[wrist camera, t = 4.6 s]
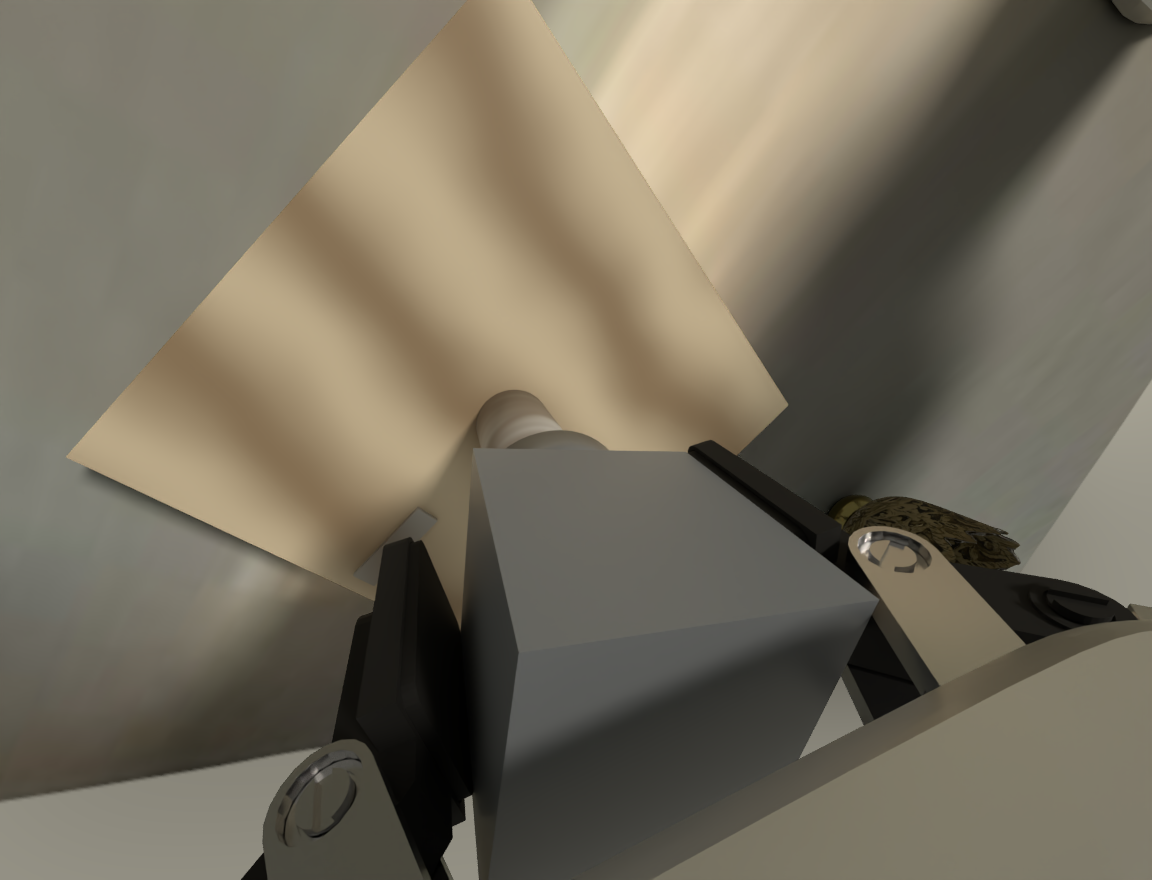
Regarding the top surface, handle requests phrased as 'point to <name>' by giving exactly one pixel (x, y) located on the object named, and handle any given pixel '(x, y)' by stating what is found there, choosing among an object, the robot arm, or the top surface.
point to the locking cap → (631, 648)
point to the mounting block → (436, 321)
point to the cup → (931, 529)
